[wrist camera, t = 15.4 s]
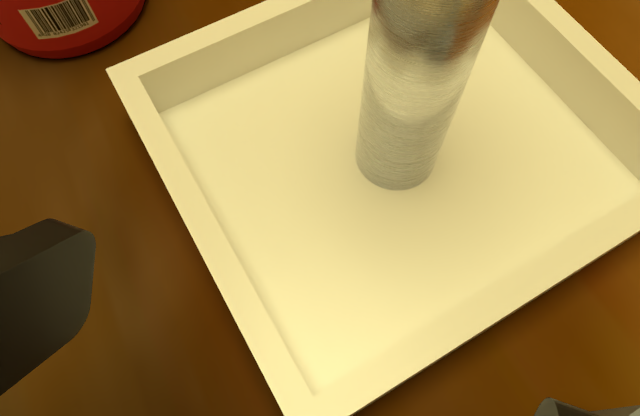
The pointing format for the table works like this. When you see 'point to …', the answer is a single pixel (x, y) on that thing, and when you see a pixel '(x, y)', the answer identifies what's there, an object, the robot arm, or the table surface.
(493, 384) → the table surface
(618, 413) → the block
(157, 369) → the table surface
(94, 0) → the canned food
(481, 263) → the pin tray
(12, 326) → the robot arm
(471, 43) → the pin
